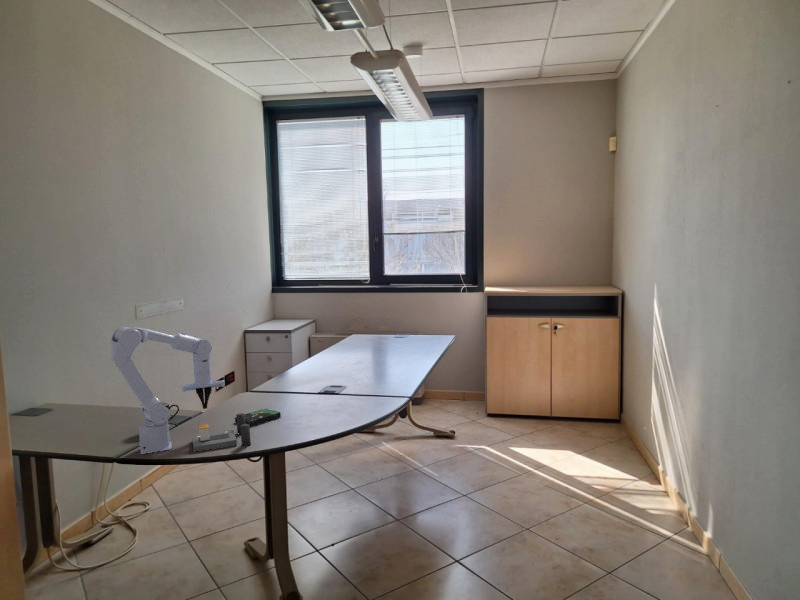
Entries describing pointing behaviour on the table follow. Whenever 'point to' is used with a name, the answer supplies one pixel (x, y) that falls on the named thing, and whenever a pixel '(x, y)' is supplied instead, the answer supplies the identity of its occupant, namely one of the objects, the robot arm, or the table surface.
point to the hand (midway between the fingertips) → (204, 408)
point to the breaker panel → (215, 440)
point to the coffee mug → (169, 408)
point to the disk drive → (260, 417)
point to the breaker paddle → (204, 432)
